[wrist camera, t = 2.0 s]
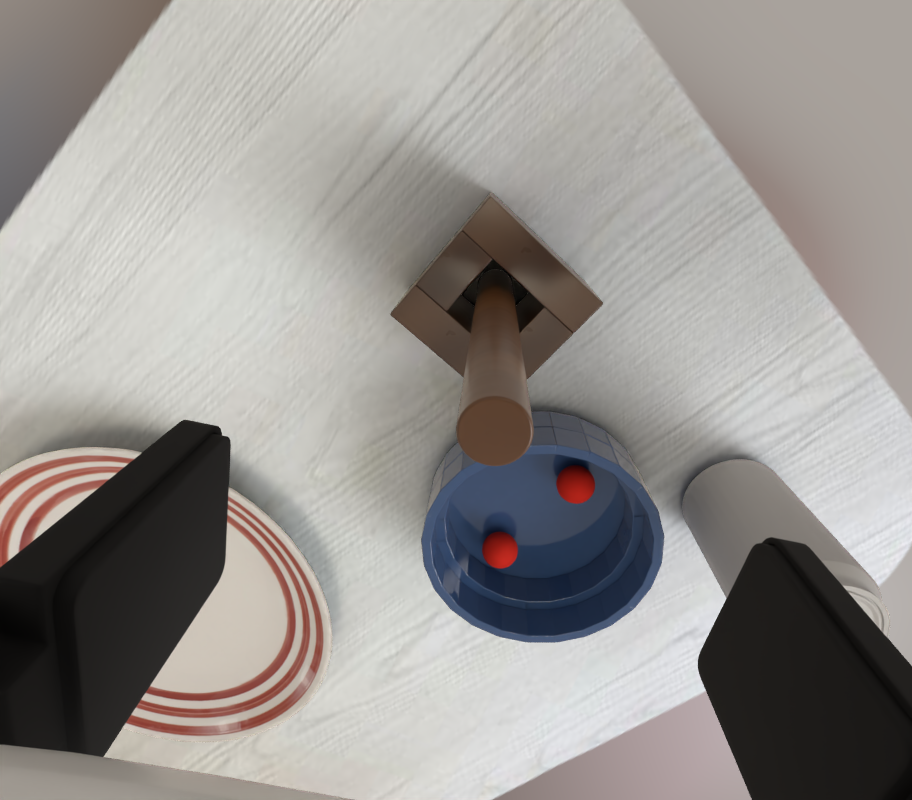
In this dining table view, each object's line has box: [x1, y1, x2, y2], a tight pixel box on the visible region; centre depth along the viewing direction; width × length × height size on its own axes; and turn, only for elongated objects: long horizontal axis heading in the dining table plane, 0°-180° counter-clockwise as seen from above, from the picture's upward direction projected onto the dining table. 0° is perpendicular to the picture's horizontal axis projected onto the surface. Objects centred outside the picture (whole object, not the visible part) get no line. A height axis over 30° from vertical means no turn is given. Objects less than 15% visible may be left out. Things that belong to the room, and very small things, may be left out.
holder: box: [390, 192, 603, 380], centre depth 30 cm, size 7×7×6 cm
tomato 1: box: [482, 532, 518, 569], centre depth 37 cm, size 2×2×2 cm
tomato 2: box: [556, 465, 595, 504], centre depth 35 cm, size 2×2×2 cm
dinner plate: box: [0, 447, 332, 742], centre depth 42 cm, size 27×27×3 cm
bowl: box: [421, 411, 664, 642], centre depth 36 cm, size 14×14×6 cm
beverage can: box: [682, 459, 891, 638], centre depth 31 cm, size 6×6×12 cm
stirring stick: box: [456, 269, 534, 466], centre depth 23 cm, size 2×2×20 cm
